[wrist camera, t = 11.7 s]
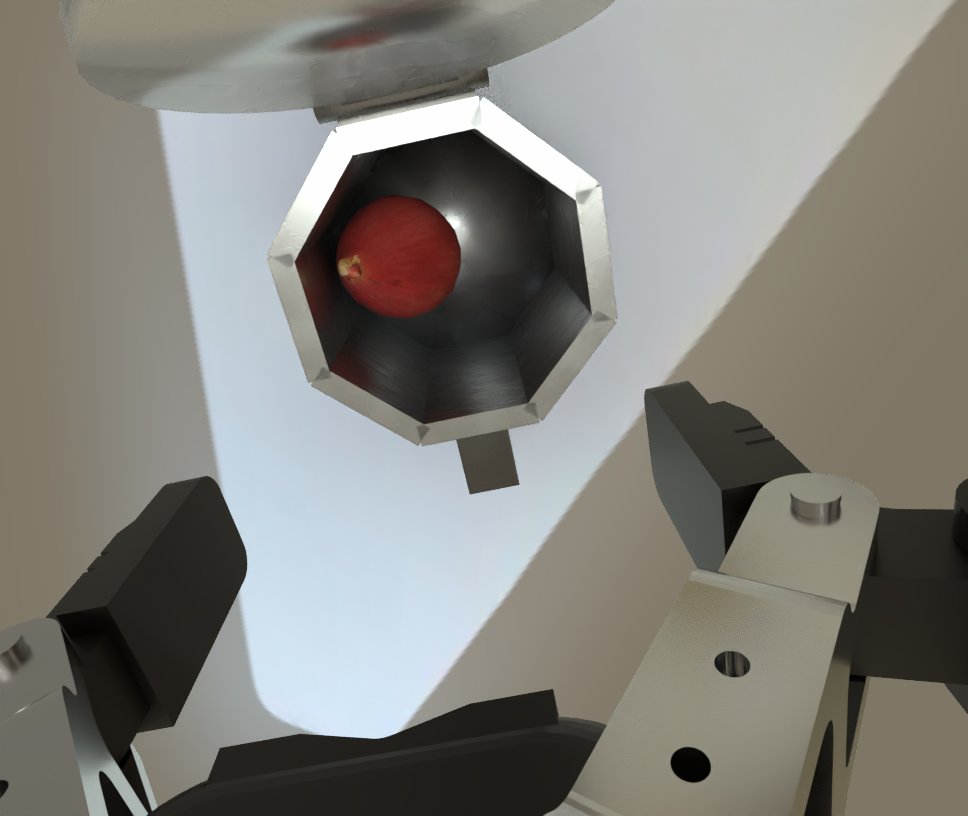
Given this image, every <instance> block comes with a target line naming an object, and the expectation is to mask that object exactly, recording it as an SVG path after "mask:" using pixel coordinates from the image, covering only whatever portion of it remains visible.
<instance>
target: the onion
mask: <svg viewBox="0 0 968 816" xmlns="http://www.w3.org/2000/svg"><path fill="white" fill-rule="evenodd" d="M336 269H337V271H338V274H339V277H340V279H341V282H342V285H343V286H344V288H345V289H346V290H347V291H348V292H349V294H350V295H351V296H352V297H353V299H354V300H355V301H356V302H357V303H358V304H359V305H362V306H364V307H366V308H368V309H369V310H371V311H373V312H375V313H377V314H379V315H381V316H385V317H394V318H407V319H409V318H412V317H415V316H418V315H421V314H423V313H426V312H428V311H431V310H433V309H435V308H436V307H437V306H438V305H439V304H441V303H442V302H443V301H444V299H445V298H446V297H447V296H448V295H449V294H450V293H451V292H452V291H453V288H454V285H455V283H456V280H457V277H458V274H459V271H460V269H461V248H460V245H459V241H458V238H457V235H456V232H455V230H454V228H453V227H452V226H451V225H450V223H449V222H448V221H447V219H446V218H445V217H444V216H443V215H442V214H441V213H440V212H439V211H438V210H437V209H435V208H434V207H432V206H431V205H429V204H428V203H426V202H425V201H423V200H422V199H417V198H413V197H406V196H397V195H389V196H385V197H381V198H379V199H377V200H375V201H373V202H372V203H370V204H368V205H366V206H364V207H362V208H361V209H359V210H358V211H357V212H356V213H355V214H354V216H353V217H352V218H351V220H350V221H349V222H348V223H347V225H346V226H345V228H344V229H343V230H342V233H341V237H340V240H339V244H338V248H337V254H336Z"/></svg>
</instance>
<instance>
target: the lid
mask: <svg viewBox="0 0 968 816" xmlns="http://www.w3.org/2000/svg"><path fill="white" fill-rule="evenodd" d="M614 1H615V0H60V8H59V16H60V19H61V22H62V24H63V28H64V31H65V34H66V36H67V39H68V42H69V45H70V48H71V51H72V54H73V57H74V59H75V62H76V65H77V68H78V71H79V73H80V75H81V76H82V77H83V78H84V79H85V80H86V81H87V83H88V84H89V85H91V86H92V87H94V88H96V89H97V90H99V91H100V92H102V93H104V94H106V95H108V96H111V97H113V98H116V99H118V100H121V101H125V102H128V103H132V104H135V105H139V106H145V107H150V108H156V109H162V110H171V111H179V112H194V113H258V112H274V111H286V110H296V109H306V108H313V110H314V113H315V116H316V118H317V120H318V122H319V123H320V124H323V123H327V122H332V121H336V120H341V119H345V118H349V117H354V116H358V115H363V114H367V113H372V112H376V111H381V110H385V109H390V108H394V107H399V106H403V105H408V104H412V103H416V102H421V101H425V100H430V99H434V98H439V97H443V96H448V95H452V94H457V93H461V92H466V91H470V90H475V89H479V88H484V87H488V86H489V78H488V71H487V68H488V67H491V66H494V65H497V64H499V63H502V62H505V61H507V60H510V59H513V58H515V57H518V56H520V55H522V54H525V53H527V52H530V51H532V50H534V49H537V48H539V47H541V46H543V45H545V44H547V43H549V42H552V41H554V40H556V39H558V38H560V37H561V36H563V35H565V34H567V33H569V32H571V31H573V30H574V29H576V28H578V27H579V26H581V25H583V24H584V23H586V22H587V21H589V20H591V19H592V18H594V17H595V16H596V15H598V14H599V13H600V12H602V11H603V10H605V9H606V8H607V7H608V6H610V5H611V4H612V3H613V2H614Z"/></svg>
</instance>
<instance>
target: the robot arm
mask: <svg viewBox="0 0 968 816" xmlns="http://www.w3.org/2000/svg"><path fill="white" fill-rule="evenodd" d="M644 401H645V411H646V420H647V429H648V438H649V447H650V456H651V464H652V471H653V476H654V481H655V484H656V488H657V491H658V494H659V497H660V499H661V501H662V503H663V505H664V507H665V509H666V511H667V512H668V514H669V516H670V518H671V520H672V521H673V524H674V525H675V527H676V529H677V531H678V533H679V535H680V537H681V538H682V540H683V542H684V544H685V546H686V548H687V550H688V551H689V553H690V555H691V557H692V559H693V561H694V563H695V564H696V566H697V569H696V570H694V571H693V573H692V574H691V575H690V577H689V578H688V580H687V582H686V584H685V585H684V587H683V589H682V591H681V592H680V594H679V596H678V598H677V600H676V601H675V603H674V605H673V607H672V609H671V610H670V612H669V614H668V616H667V618H666V620H665V621H664V623H663V625H662V627H661V629H660V630H659V632H658V634H657V636H656V638H655V639H654V641H653V643H652V645H651V647H650V648H649V650H648V652H647V654H646V656H645V658H644V659H643V661H642V663H641V665H640V666H639V668H638V670H637V672H636V674H635V676H634V677H633V679H632V681H631V683H630V685H629V686H628V688H627V690H626V692H625V694H624V696H623V698H622V699H621V701H620V703H619V704H618V706H617V708H616V710H615V712H614V714H613V715H612V717H611V719H610V721H609V723H608V724H607V725H605V724H602V723H599V722H594V721H589V720H584V719H578V718H569V717H559V714H558V710H557V705H556V700H555V696H554V691H553V689H551V690H545V691H540V692H534V693H528V694H523V695H517V696H512V697H506V698H500V699H495V700H489V701H483V702H477V703H472V704H469V705H466V706H463V707H461V708H458V709H456V710H453V711H451V712H448V713H446V714H443V715H441V716H439V717H436V718H433V719H431V720H429V721H426V722H423V723H421V724H419V725H416V726H414V727H411V728H409V729H406V730H404V731H401V732H399V733H396V734H394V735H391V736H388V737H385V738H380V739H369V738H354V737H339V736H324V735H309V734H297V735H292V736H286V737H280V738H274V739H269V740H263V741H257V742H252V743H246V744H240V745H235V746H229V747H223V748H220V749H219V752H218V755H217V757H216V760H215V762H214V765H213V767H212V770H211V773H210V775H209V778H208V780H207V781H204V782H202V783H200V784H198V785H196V786H194V787H192V788H190V789H188V790H186V791H184V792H182V793H180V794H178V795H177V796H175V797H173V798H172V799H170V800H168V801H167V802H165V803H164V804H162V805H160V806H159V807H157V804H156V801H155V798H154V796H153V793H152V790H151V787H150V784H149V781H148V778H147V775H146V772H145V769H144V766H143V764H142V761H141V758H140V757H139V755H138V753H137V751H136V750H135V748H134V746H133V745H132V741H133V739H134V737H135V736H136V734H137V733H140V732H145V731H151V730H156V729H162V728H167V727H173V726H174V725H175V723H176V720H177V719H178V717H179V714H180V712H181V710H182V708H183V706H184V704H185V702H186V700H187V698H188V696H189V694H190V692H191V689H192V687H193V685H194V683H195V681H196V679H197V677H198V675H199V673H200V671H201V669H202V667H203V665H204V662H205V660H206V658H207V656H208V654H209V652H210V650H211V648H212V646H213V644H214V642H215V640H216V638H217V635H218V633H219V631H220V629H221V627H222V625H223V623H224V621H225V619H226V617H227V615H228V613H229V610H230V608H231V606H232V604H233V602H234V600H235V598H236V596H237V594H238V592H239V590H240V588H241V586H242V584H243V581H244V579H245V576H246V572H247V555H246V550H245V547H244V544H243V541H242V539H241V537H240V534H239V532H238V530H237V527H236V525H235V523H234V520H233V518H232V516H231V514H230V511H229V509H228V507H227V504H226V502H225V500H224V497H223V495H222V493H221V490H220V488H219V486H218V484H217V483H216V482H215V481H214V479H212V478H211V477H208V476H205V477H200V478H195V479H190V480H185V481H180V482H175V483H170V484H166V485H165V486H163V487H162V489H161V490H160V491H159V492H158V493H157V495H156V496H155V497H154V498H153V499H152V501H151V502H150V503H149V504H148V505H147V507H146V508H145V509H144V510H143V511H142V513H141V514H140V515H139V516H138V517H137V519H136V520H135V521H134V522H132V523H131V524H129V525H128V526H127V527H125V528H124V529H123V530H121V531H120V532H119V533H117V534H116V536H115V537H114V538H113V539H112V540H111V542H110V543H109V544H108V545H107V546H106V547H105V549H104V550H103V551H102V552H101V556H99V557H97V558H96V559H95V560H94V561H93V563H92V564H91V565H90V566H89V567H88V569H87V570H88V572H86V573H83V574H82V576H81V577H80V578H79V579H78V580H77V582H76V583H75V584H74V585H73V586H72V587H71V588H70V590H69V591H68V592H67V593H66V594H65V596H64V597H63V598H62V599H61V600H60V601H59V603H58V604H57V605H56V606H55V607H54V609H53V610H52V611H51V612H50V613H49V614H48V615H47V617H46V618H37V619H32V620H28V621H25V622H22V623H19V624H16V625H14V626H11V627H9V628H7V629H4V630H2V631H0V816H845V808H846V802H847V795H848V789H849V784H850V779H851V774H852V769H853V764H854V759H855V754H856V749H857V744H858V739H859V734H860V729H861V724H862V719H863V714H864V708H865V704H866V699H867V694H868V689H869V683H870V677H882V678H894V679H905V680H916V681H928V682H939V683H944V684H945V685H946V687H947V688H948V689H949V691H950V692H951V693H952V694H953V696H954V697H955V698H956V699H957V701H958V702H959V703H960V705H961V706H962V707H963V708H964V710H965V711H966V712H967V714H968V479H966V480H964V481H963V482H962V483H961V484H960V485H959V486H958V488H957V489H956V496H955V505H954V510H942V509H941V510H940V509H937V510H936V509H932V510H931V509H890V508H881V507H879V503H878V500H877V499H876V497H875V496H874V495H873V494H872V493H871V492H870V491H869V490H868V489H867V488H865V487H863V486H862V485H860V484H858V483H856V482H854V481H851V480H849V479H846V478H842V477H838V476H834V475H828V474H819V473H811V472H810V471H809V470H808V469H807V468H806V467H805V466H804V465H803V464H802V463H801V462H800V461H799V460H798V459H797V458H796V457H795V456H794V455H793V454H792V453H791V452H790V451H789V450H788V449H786V447H784V445H783V444H782V443H781V442H780V441H779V440H775V437H774V436H773V435H772V434H771V433H770V432H769V431H768V430H767V429H766V428H763V425H762V424H761V423H760V422H759V421H758V420H757V419H756V418H755V417H754V416H753V415H752V414H751V413H750V412H749V411H747V410H745V409H742V408H740V407H737V406H735V405H732V404H730V403H727V402H725V401H722V402H717V403H712V404H709V403H708V402H707V401H706V400H705V399H704V398H703V396H702V395H701V394H700V393H699V392H698V391H697V390H696V389H695V388H694V386H693V385H692V384H691V383H690V382H689V381H685V382H680V383H675V384H670V385H665V386H660V387H655V388H650V389H646V390H645V395H644Z"/></svg>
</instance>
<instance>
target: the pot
mask: <svg viewBox="0 0 968 816" xmlns="http://www.w3.org/2000/svg"><path fill="white" fill-rule="evenodd" d="M338 124H339V127H337V128H336V130H337V131H332V132H331V133H330V135H329V137H328V139H327V141H326V143H325V145H324V147H323V149H322V151H321V152H320V154H319V156H318V158H317V160H316V162H315V164H314V166H313V168H312V169H311V171H310V173H309V175H308V177H307V179H306V181H305V183H304V185H303V187H302V188H301V190H300V192H299V194H298V196H297V198H296V200H295V202H294V204H293V205H292V207H291V209H290V211H289V213H288V215H287V217H286V219H285V221H284V223H283V224H282V226H281V228H280V230H279V232H278V234H277V236H276V238H275V240H274V241H273V243H272V245H271V247H270V249H269V251H268V253H267V255H269V256H270V257H268V258H267V262H268V265H269V268H270V271H271V274H272V277H273V280H274V283H275V285H276V288H277V291H278V294H279V297H280V300H281V303H282V306H283V309H284V312H285V315H286V318H287V321H288V324H289V327H290V330H291V333H292V336H293V339H294V342H295V345H296V348H297V351H298V354H299V357H300V360H301V363H302V366H303V369H304V372H305V375H306V378H307V381H308V383H309V382H313V383H312V385H311V386H312V387H314V388H316V389H317V390H319V391H321V392H323V393H325V394H326V395H328V396H330V397H332V398H334V399H335V400H337V401H339V402H341V403H342V404H344V405H346V406H348V407H350V408H351V409H353V410H355V411H357V412H359V413H360V414H362V415H364V416H366V417H368V418H369V419H371V420H373V421H375V422H376V423H378V424H380V425H382V426H384V427H385V428H387V429H389V430H391V431H393V432H394V433H396V434H398V435H400V436H402V437H403V438H405V439H407V440H409V441H411V442H412V443H414V444H416V445H419V444H420V442H421V444H422V446H426V445H431V444H436V443H441V442H446V441H451V440H457V444H458V448H459V452H460V456H461V460H462V465H463V469H464V473H465V477H466V481H467V485H468V489H469V493H470V494H475V493H480V492H485V491H490V490H495V489H500V488H505V487H510V486H515V485H519V480H518V475H517V470H516V465H515V460H514V456H513V451H512V446H511V441H510V436H509V431H508V429H510V428H515V427H520V426H525V425H530V424H535V423H539V420H538V418H539V419H541V420H542V421H543V419H544V418H545V417H546V415H547V414H548V413H549V411H550V410H551V409H552V407H553V406H554V405H555V403H556V402H557V401H558V399H559V398H560V397H561V395H562V394H563V393H564V391H565V390H566V389H567V387H568V386H569V385H570V383H571V382H572V381H573V379H574V378H575V377H576V375H577V374H578V373H579V371H580V370H581V369H582V368H583V366H584V365H585V364H586V362H587V361H588V360H589V358H590V357H591V356H592V354H593V353H594V352H595V350H596V349H597V348H598V346H599V345H600V344H601V342H602V341H603V340H604V338H605V337H606V336H607V334H608V333H609V332H610V330H611V329H612V328H613V326H614V325H615V324H616V322H615V320H614V319H617V310H616V302H615V294H614V286H613V278H612V270H611V261H610V253H609V245H608V237H607V229H606V221H605V213H604V204H603V196H602V188H601V186H599V185H598V183H599V182H598V181H596V180H595V179H594V178H592V177H591V176H590V175H588V174H587V173H586V172H584V171H583V170H582V169H580V168H579V167H577V166H576V165H575V164H573V163H572V162H571V161H569V160H568V159H567V158H565V157H564V156H563V155H561V154H560V153H559V152H557V151H556V150H554V149H553V148H552V147H550V146H549V145H548V144H546V143H545V142H544V141H542V140H541V139H540V138H538V137H537V136H536V135H534V134H533V133H531V132H530V131H529V130H527V129H526V128H525V127H523V126H522V125H521V124H519V123H518V122H517V121H515V120H514V119H512V118H511V117H510V116H508V115H507V114H506V113H504V112H503V111H502V110H500V109H499V108H498V107H496V106H495V105H494V104H492V103H491V102H489V101H488V100H487V99H485V98H484V97H483V98H482V99H481V100H480V101H479V96H476V97H475V91H474V90H470V91H466V92H461V93H457V94H452V95H448V96H443V97H439V98H434V99H430V100H425V101H421V102H416V103H412V104H408V105H403V106H399V107H394V108H390V109H385V110H381V111H376V112H372V113H367V114H363V115H358V116H354V117H349V118H345V119H341V120H338ZM389 195H397V196H406V197H413V198H417V199H422V200H423V201H425V202H426V203H428V204H429V205H431V206H432V207H434V208H435V209H437V210H438V211H439V212H440V213H441V214H442V215H443V216H444V217H445V218H446V219H447V221H448V222H449V223H450V225H451V226H452V227H453V228H454V230H455V232H456V235H457V238H458V241H459V245H460V248H461V269H460V271H459V274H458V277H457V280H456V283H455V285H454V288H453V291H452V292H451V293H450V294H449V295H448V296H447V297H446V298H445V299H444V301H443V302H442V303H441V304H439V305H438V306H437V307H436V308H435V309H433V310H431V311H428V312H426V313H423V314H421V315H418V316H415V317H412V318H409V319H407V318H394V317H385V316H381V315H379V314H377V313H375V312H373V311H371V310H369V309H368V308H366V307H364V306H362V305H359V304H358V303H357V302H356V301H355V300H354V299H353V297H352V296H351V295H350V294H349V292H348V291H347V290H346V289H345V288H344V286H343V285H342V282H341V279H340V277H339V274H338V271H337V269H336V254H337V248H338V244H339V240H340V237H341V233H342V230H343V229H344V228H345V226H346V225H347V223H348V222H349V221H350V220H351V218H352V217H353V216H354V214H355V213H356V212H357V211H358V210H359V209H361V208H362V207H364V206H366V205H368V204H370V203H372V202H373V201H375V200H377V199H379V198H381V197H385V196H389Z"/></svg>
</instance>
